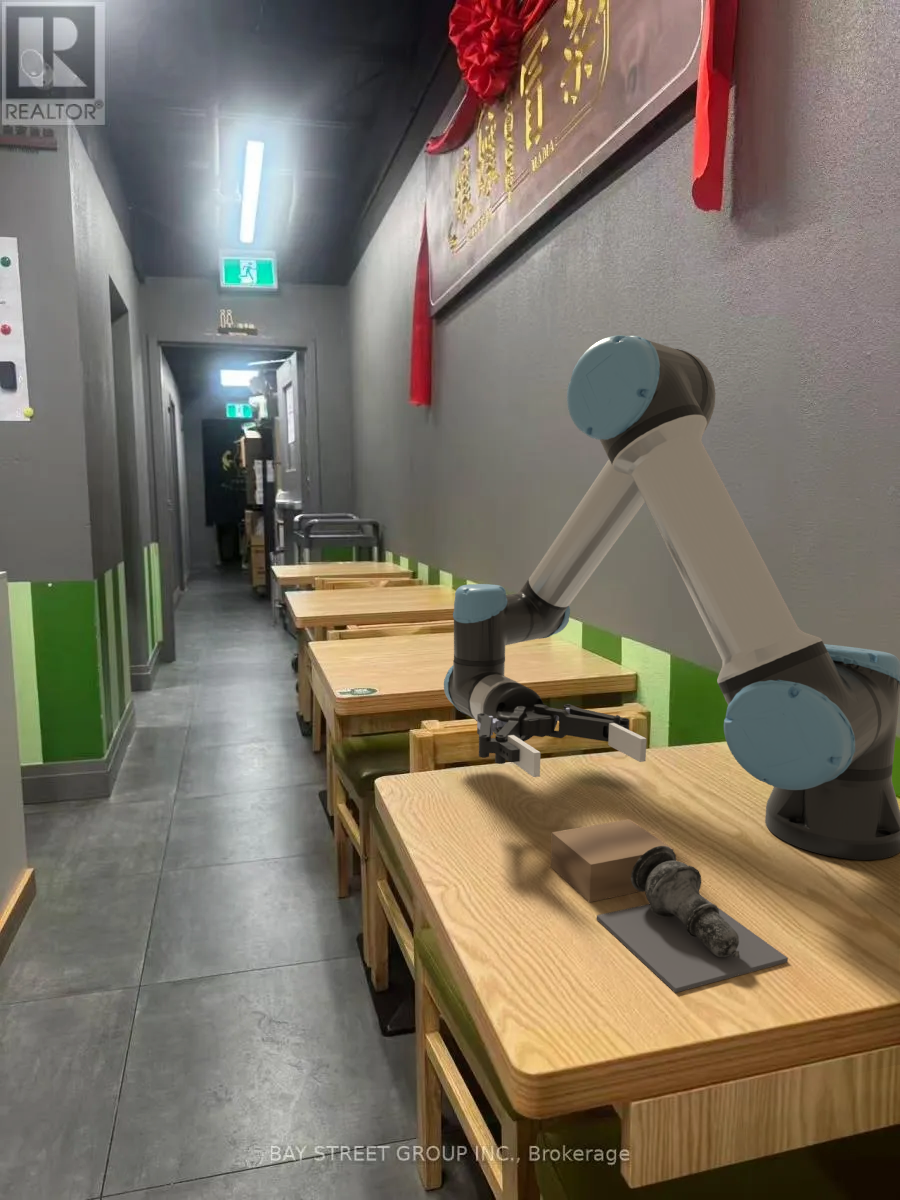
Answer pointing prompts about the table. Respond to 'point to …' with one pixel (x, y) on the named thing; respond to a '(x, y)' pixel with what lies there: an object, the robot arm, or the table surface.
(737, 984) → the table surface
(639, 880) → the salt shaker
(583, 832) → the ledge block
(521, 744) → the robot arm
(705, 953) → the mat
